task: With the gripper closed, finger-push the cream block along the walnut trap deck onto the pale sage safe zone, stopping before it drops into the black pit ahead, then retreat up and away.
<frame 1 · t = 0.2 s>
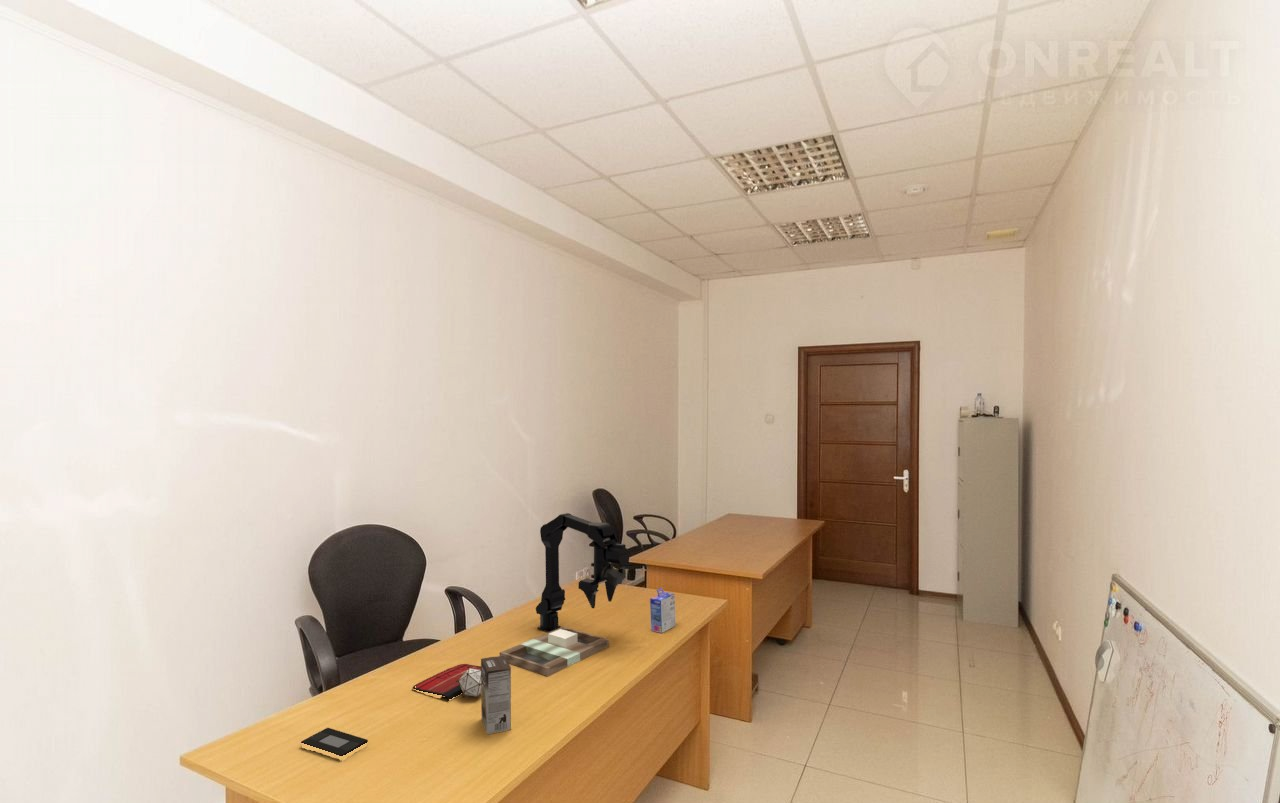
hand: (601, 604, 219), 14 cm above the table, fingers open, 9 cm apart
game die: (473, 696, 180), on the table
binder: (455, 684, 189), on the table
cream block: (562, 642, 214), point 2 cm above the table, touching trap deck
trap deck: (555, 653, 211), on the table
coffee box: (495, 725, 163), on the table
ink cartridge box: (663, 628, 235), on the table
black computer chip: (334, 749, 153), on the table
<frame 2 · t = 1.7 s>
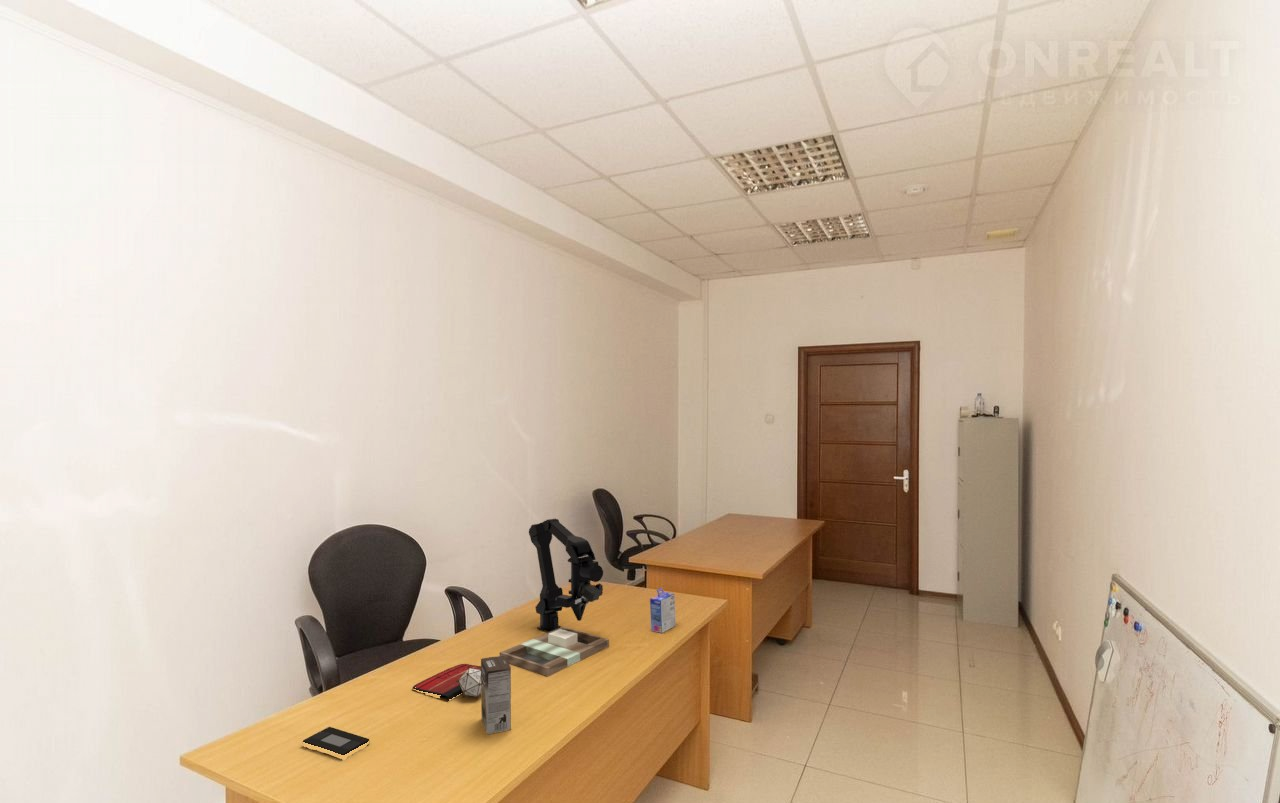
hand: (579, 620, 221), 8 cm above the table, fingers closed
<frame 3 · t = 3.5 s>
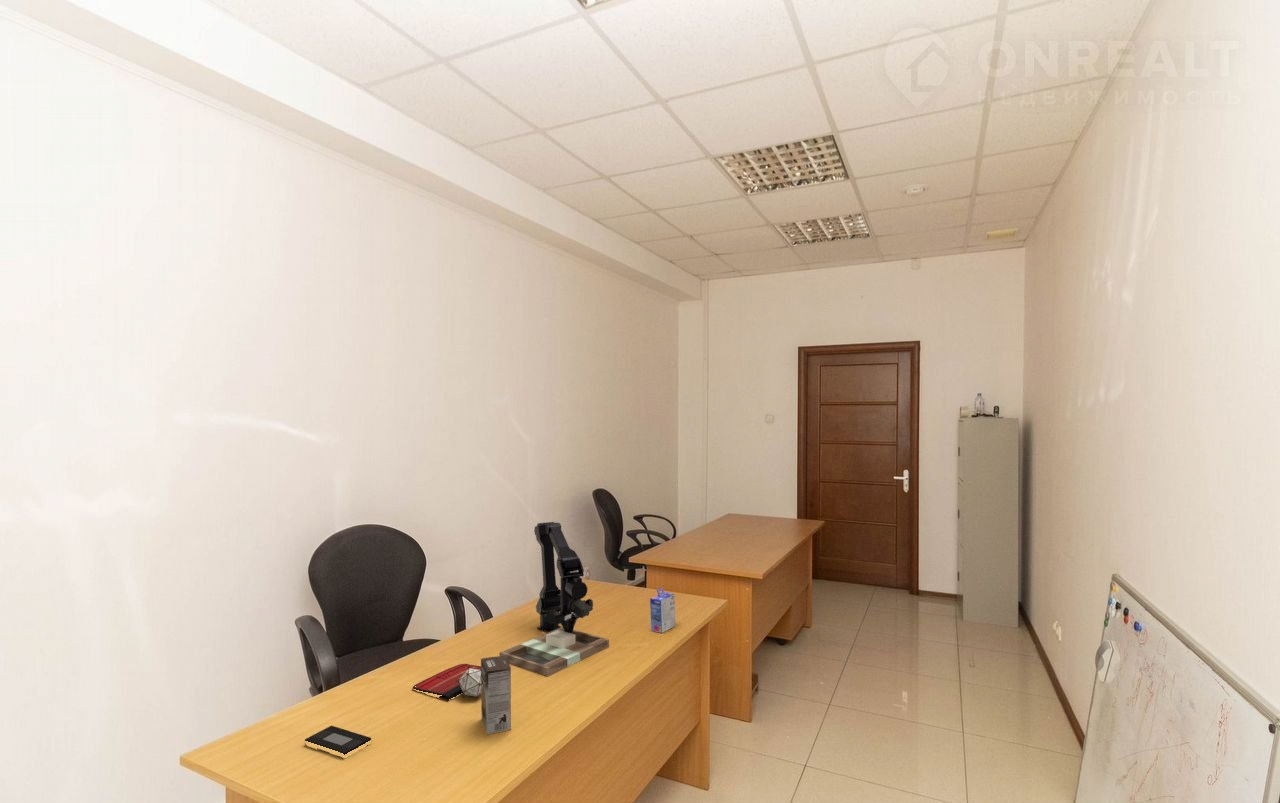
hand: (569, 636, 217), 4 cm above the table, fingers closed
cream block: (560, 643, 213), point 3 cm above the table, touching gripper, trap deck
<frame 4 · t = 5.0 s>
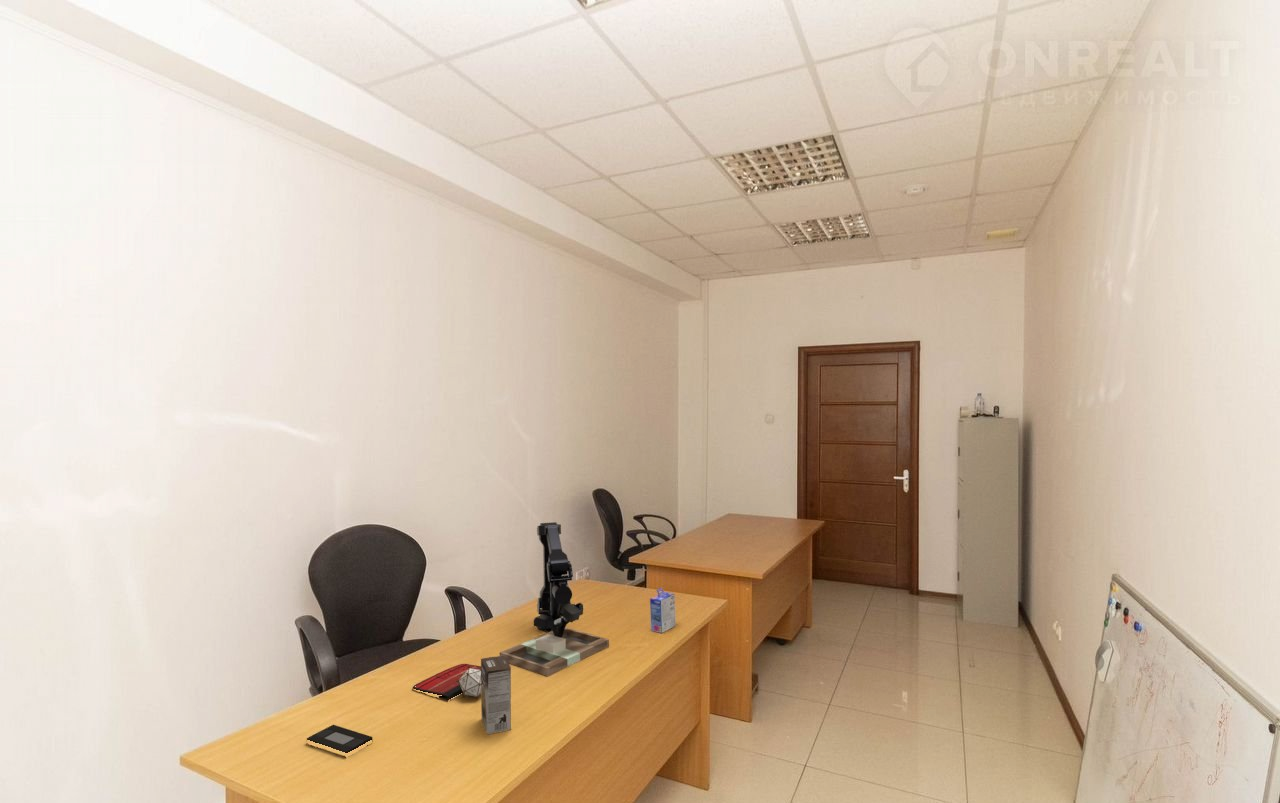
hand: (559, 641, 213), 4 cm above the table, fingers closed
cream block: (550, 648, 209), point 2 cm above the table, touching gripper, trap deck
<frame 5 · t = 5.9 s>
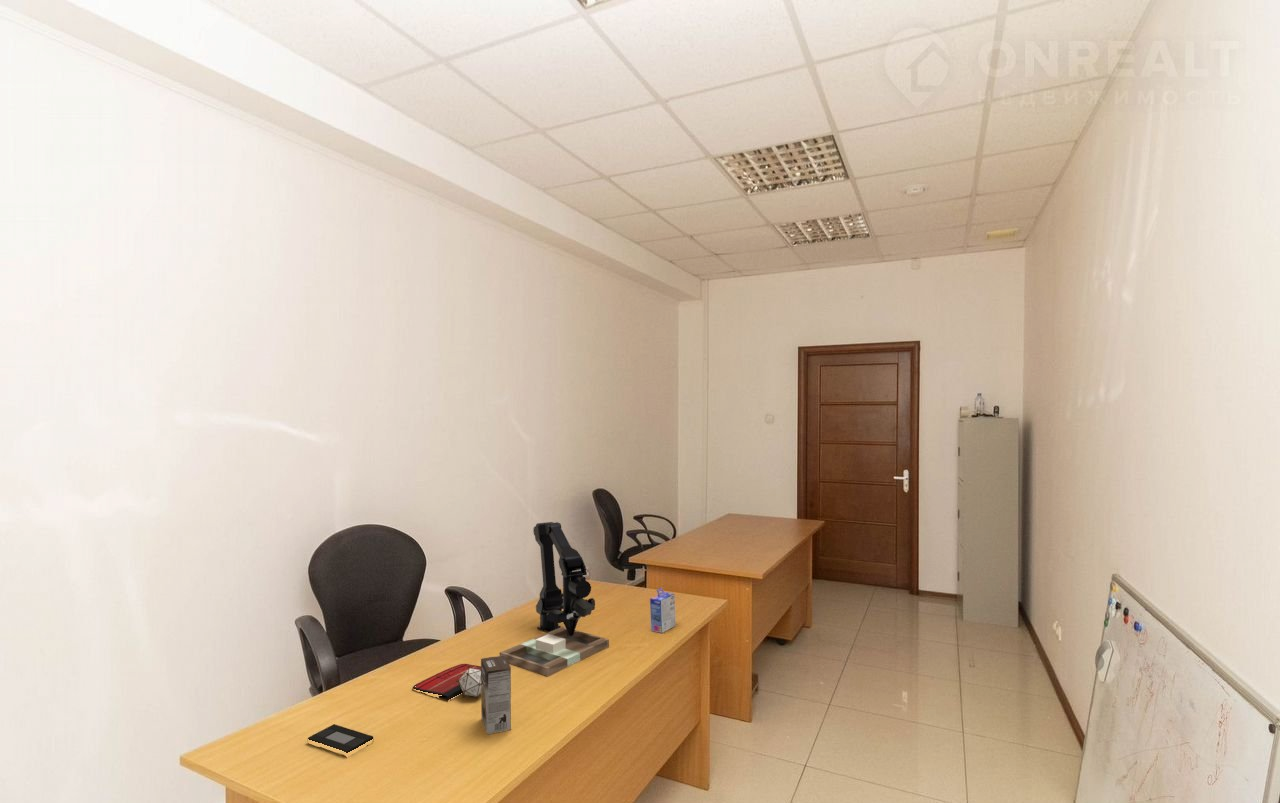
hand: (571, 635, 218), 4 cm above the table, fingers closed
cream block: (550, 648, 209), point 2 cm above the table, touching trap deck
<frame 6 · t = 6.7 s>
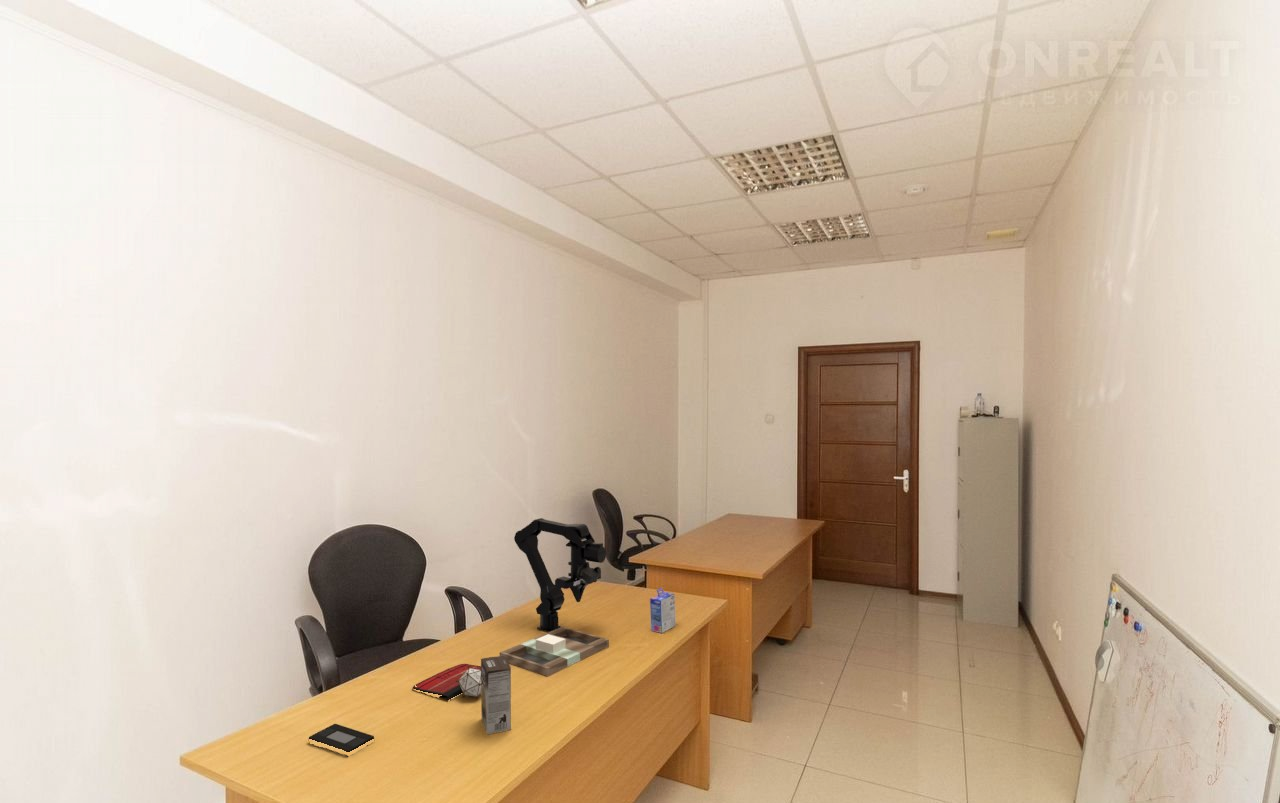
hand: (578, 601, 229), 12 cm above the table, fingers closed
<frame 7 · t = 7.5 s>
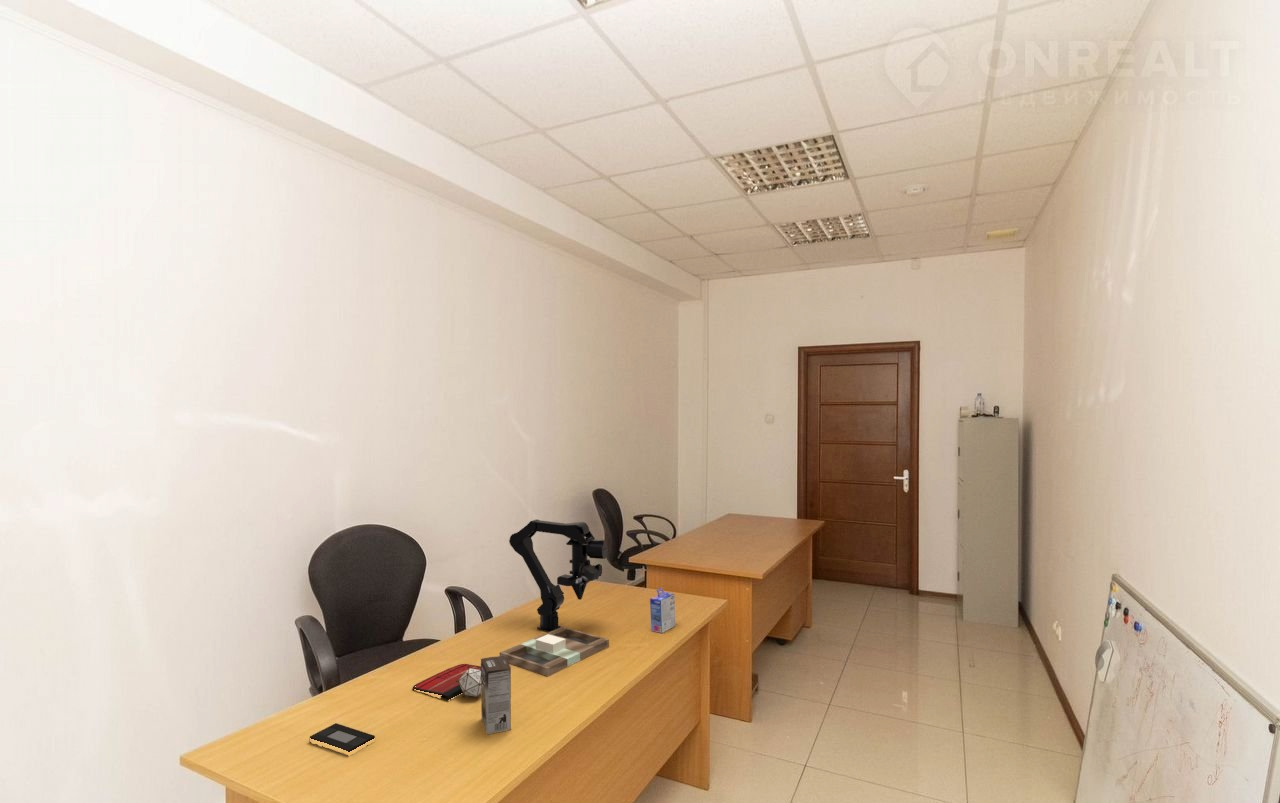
hand: (579, 599, 232), 12 cm above the table, fingers closed
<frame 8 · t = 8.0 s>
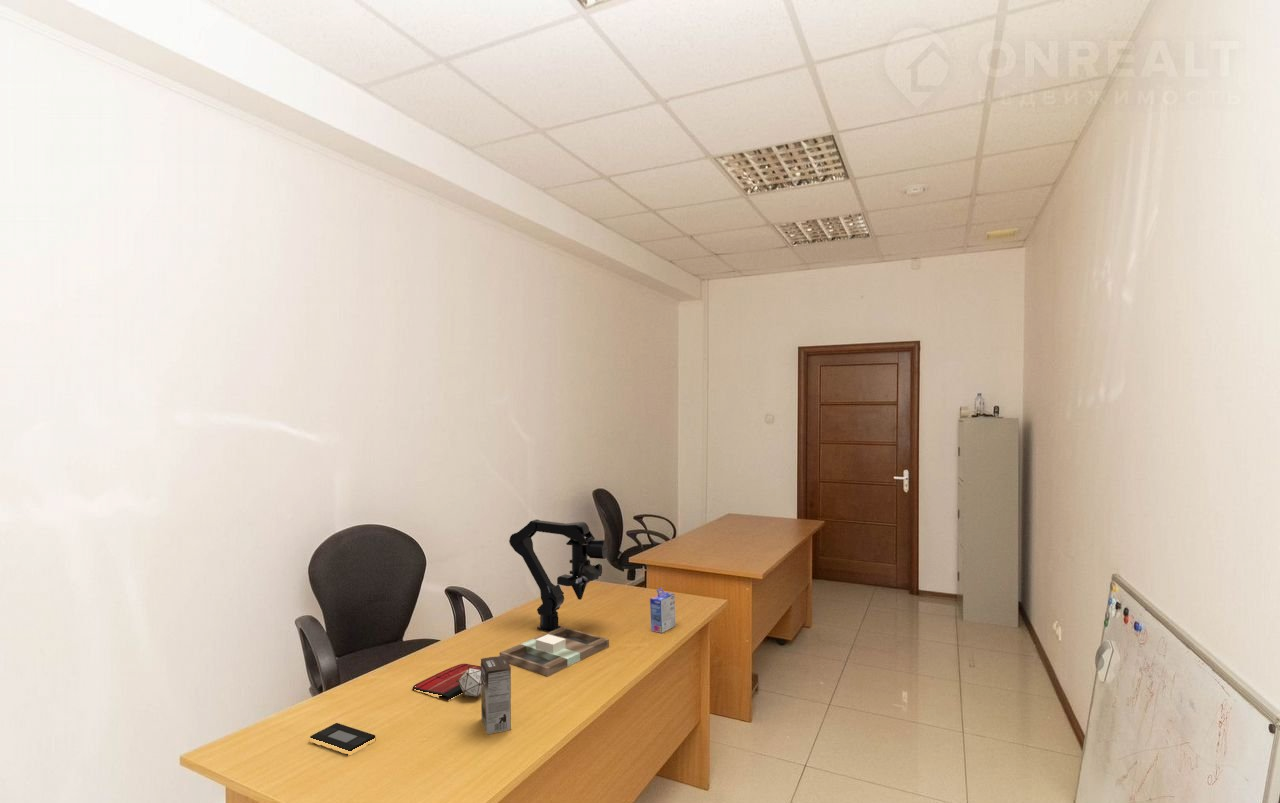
hand: (579, 599, 232), 12 cm above the table, fingers closed
at the end: cream block inside the target area on the trap deck (0.4 cm from its centre), point 2.5 cm above the trap deck's base; cream block tilted 0°; the gripper is holding nothing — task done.
